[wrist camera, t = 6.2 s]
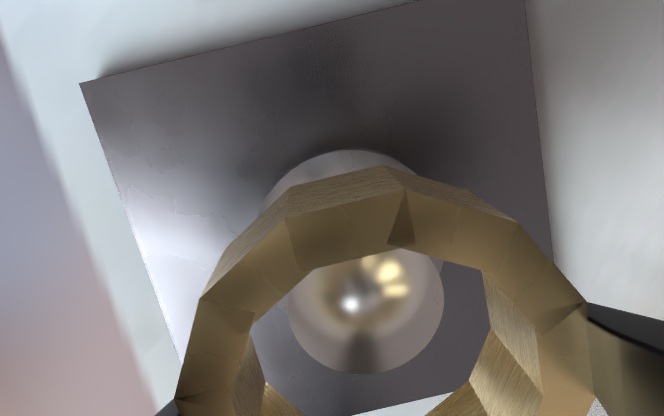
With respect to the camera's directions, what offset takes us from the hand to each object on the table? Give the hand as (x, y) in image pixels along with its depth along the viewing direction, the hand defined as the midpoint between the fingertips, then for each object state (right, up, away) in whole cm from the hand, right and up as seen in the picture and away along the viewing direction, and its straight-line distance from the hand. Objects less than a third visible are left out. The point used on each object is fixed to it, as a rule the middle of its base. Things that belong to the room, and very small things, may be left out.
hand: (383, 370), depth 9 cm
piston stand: (0, +2, +8) cm, 9 cm away
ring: (0, 0, +1) cm, 2 cm away
